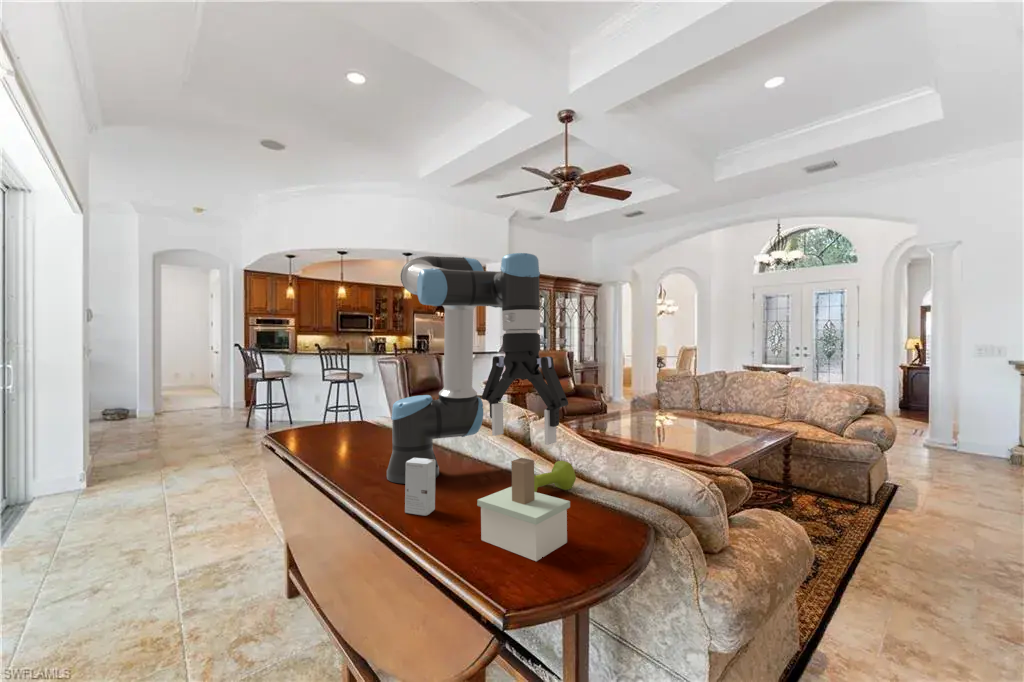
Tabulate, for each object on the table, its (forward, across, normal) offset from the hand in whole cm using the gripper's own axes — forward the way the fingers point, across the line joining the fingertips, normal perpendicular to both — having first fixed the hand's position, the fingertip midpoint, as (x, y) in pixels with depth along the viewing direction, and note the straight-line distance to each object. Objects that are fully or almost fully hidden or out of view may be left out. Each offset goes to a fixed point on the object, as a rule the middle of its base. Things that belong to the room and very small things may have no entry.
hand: (523, 439), depth 93 cm
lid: (+15, 0, 0) cm, 15 cm away
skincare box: (+21, -29, -3) cm, 36 cm away
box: (+21, 0, 0) cm, 21 cm away
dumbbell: (+21, -14, +26) cm, 36 cm away
